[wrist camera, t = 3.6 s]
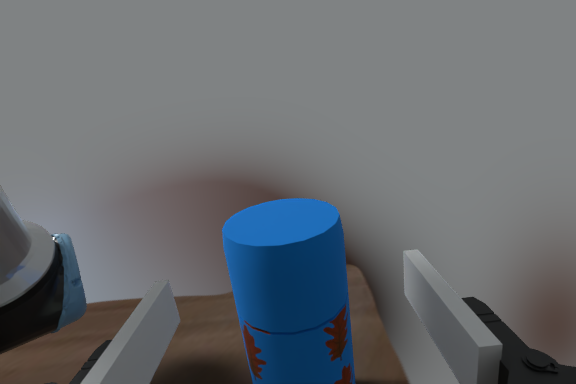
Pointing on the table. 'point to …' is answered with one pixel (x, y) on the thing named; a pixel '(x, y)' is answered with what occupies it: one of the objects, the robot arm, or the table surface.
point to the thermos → (291, 291)
